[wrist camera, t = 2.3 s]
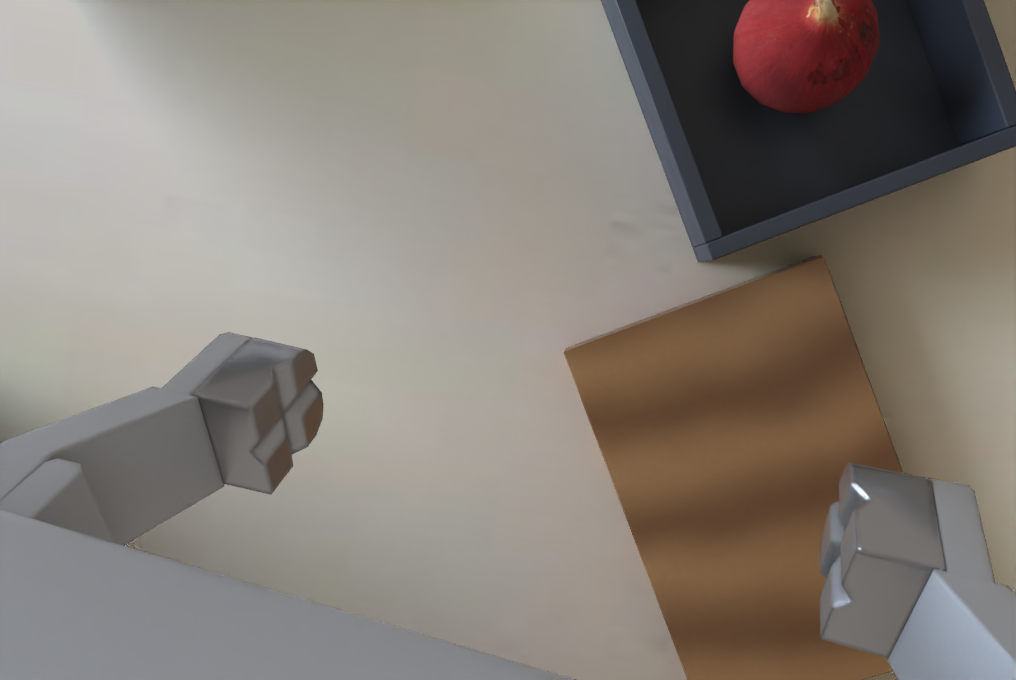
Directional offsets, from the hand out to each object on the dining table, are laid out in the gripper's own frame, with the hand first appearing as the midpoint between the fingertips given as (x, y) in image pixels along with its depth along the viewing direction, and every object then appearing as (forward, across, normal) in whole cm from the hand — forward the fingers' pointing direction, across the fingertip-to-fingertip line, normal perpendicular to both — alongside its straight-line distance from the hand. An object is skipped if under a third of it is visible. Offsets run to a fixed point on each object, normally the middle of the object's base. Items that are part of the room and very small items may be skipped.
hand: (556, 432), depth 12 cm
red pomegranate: (+31, -3, +3) cm, 32 cm away
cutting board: (+21, -6, +21) cm, 30 cm away
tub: (+32, -3, +3) cm, 32 cm away
